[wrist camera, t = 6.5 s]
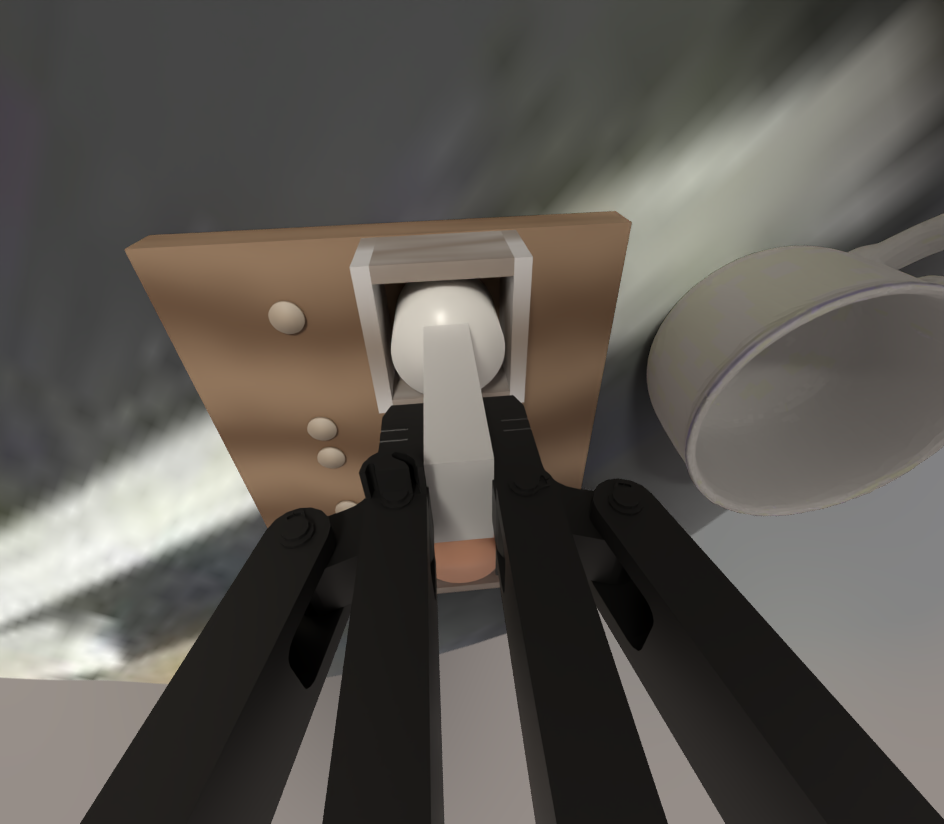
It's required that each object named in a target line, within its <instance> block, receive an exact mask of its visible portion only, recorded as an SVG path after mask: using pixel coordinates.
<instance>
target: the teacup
mask: <svg viewBox="0 0 944 824" xmlns="http://www.w3.org/2000/svg"><path fill="white" fill-rule="evenodd" d="M942 250H944V213H943V214H941V215H938V216H936V217H934V218H931V219H929V220H927V221H924V222H922V223H920V224H917V225H915V226H913V227H911V228H909V229H907V230H905V231H903V232H901V233H899V234H896V235H894V236H892V237H890V238H888V239H886V240H884V241H882V242H880V243H877V244H872V245H867V246H862V247H858V248H856V249H853V250H851V251H849V252H844V251H840V250H836V249H831V248H826V247H817V246H784V247H778V248H772V249H767V250H763V251H760V252H756V253H752V254H750V255H747V256H745V257H742V258H739V259H737V260H735V261H733V262H731V263H729V264H727V265H725V266H723V267H722V268H720V269H718V270H716V271H714V272H713V273H711V274H710V275H708V276H707V277H706V278H704V279H703V280H702V281H700V282H699V283H698V284H696V285H695V286H694V287H693V288H691V289H690V290H689V291H688V292H687V293H686V294H685V295H684V296H683V297H682V298H681V299H680V300H679V301H678V302H677V303H676V305H675V306H674V307H673V309H672V310H671V311H670V312H669V314H668V315H667V316H666V318H665V320H664V321H663V323H662V324H661V326H660V328H659V330H658V332H657V334H656V336H655V338H654V340H653V343H652V346H651V349H650V353H649V357H648V364H647V386H648V392H649V396H650V400H651V403H652V405H653V408H654V410H655V413H656V415H657V417H658V419H659V421H660V422H661V424H662V426H663V428H664V430H665V431H666V433H667V435H668V437H669V438H670V440H671V442H672V443H673V445H674V447H675V448H676V450H677V451H678V453H679V455H680V456H681V458H682V459H683V461H684V462H685V464H686V467H687V470H688V473H689V475H690V477H691V479H692V481H693V483H694V485H695V486H696V487H697V488H698V489H699V490H700V491H701V493H702V494H703V495H704V496H705V497H706V498H708V499H709V500H710V501H711V502H712V503H714V504H717V505H719V506H721V507H723V508H726V509H728V510H731V511H734V512H737V513H744V514H750V515H755V516H782V515H792V514H798V513H804V512H808V511H813V510H819V509H824V508H828V507H831V506H834V505H837V504H841V503H844V502H846V501H848V500H850V499H854V498H857V497H860V496H862V495H865V494H867V493H870V492H872V491H873V490H875V489H877V488H880V487H882V486H884V485H886V484H888V483H890V482H891V481H893V480H895V479H897V478H898V477H900V476H902V475H904V474H905V473H907V472H909V471H910V470H912V469H913V468H915V467H916V466H917V465H918V464H920V463H921V462H923V461H925V460H926V459H928V458H929V457H930V456H932V455H933V454H934V453H936V452H937V451H938V450H940V449H941V448H942V447H943V446H944V276H935V275H929V276H923V277H919V278H916V277H914V276H911V275H909V274H906V273H904V272H901V271H899V269H901V268H903V267H905V266H907V265H909V264H911V263H913V262H916V261H918V260H920V259H922V258H924V257H927V256H929V255H932V254H934V253H937V252H940V251H942Z"/></svg>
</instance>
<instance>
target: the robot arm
mask: <svg viewBox="0 0 944 824" xmlns="http://www.w3.org/2000/svg"><path fill="white" fill-rule="evenodd" d="M423 371H424V403H417V404H404V405H391V406H390V408H389V409H388V410H387V412H386V413H385V414H384V416H383V417H382V424H381V433H380V443H379V449H378V453H376V454H374V455H372V456H370V457H369V458H368V459H367V460H366V461H365V462H364V463H363V464H362V466H361V468H360V471H359V476H360V480H361V483H362V487H363V491H364V495H365V498H364V499H363V500H362V501H361V502H360V503H358V504H357V505H355V506H353V507H351V508H349V509H346V510H344V511H341V512H338V513H335V514H332V515H330V516H327V515H326V514H325V513H324V512H323V511H322V510H319V509H315V508H312V507H309V508H298V509H295V510H292V511H289V512H286V513H285V514H283V515H282V516H280V517H279V518H277V519H276V520H275V521H274V522H273V523H272V524H271V525H270V526H269V527H268V529H267V530H266V531H265V533H264V535H263V536H262V538H261V539H260V541H259V542H258V544H257V546H256V547H255V549H254V550H253V552H252V553H251V555H250V557H249V558H248V560H247V561H246V563H245V564H244V566H243V568H242V569H241V571H240V572H239V574H238V576H237V577H236V579H235V580H234V582H233V583H232V585H231V587H230V588H229V590H228V591H227V593H226V594H225V596H224V598H223V599H222V601H221V602H220V604H219V605H218V607H217V609H216V610H215V612H214V613H213V615H212V616H211V618H210V620H209V621H208V623H207V624H206V626H205V627H204V629H203V631H202V632H201V634H200V635H199V637H198V639H197V640H196V642H195V643H194V645H193V646H192V648H191V650H190V651H189V653H188V654H187V656H186V657H185V659H184V661H183V662H182V664H181V665H180V667H179V668H178V670H177V672H176V673H175V675H174V676H173V678H172V679H171V681H170V683H169V684H168V686H167V687H166V689H165V691H164V692H163V694H162V695H161V697H160V698H159V700H158V702H157V703H156V705H155V706H154V708H153V709H152V711H151V713H150V714H149V716H148V717H147V719H146V720H145V722H144V724H143V725H142V727H141V728H140V730H139V731H138V733H137V735H136V736H135V738H134V739H133V741H132V743H131V744H130V746H129V747H128V749H127V750H126V752H125V754H124V755H123V757H122V758H121V760H120V761H119V763H118V765H117V766H116V768H115V769H114V771H113V772H112V774H111V776H110V777H109V779H108V780H107V782H106V784H105V785H104V787H103V788H102V790H101V792H100V793H99V794H98V796H97V798H96V799H95V801H94V803H93V804H92V806H91V807H90V809H89V810H88V812H87V813H86V815H85V817H84V818H83V820H82V821H81V823H80V824H271V821H272V819H273V816H274V814H275V811H276V809H277V806H278V803H279V801H280V798H281V795H282V793H283V790H284V787H285V785H286V782H287V779H288V777H289V774H290V772H291V769H292V766H293V763H294V761H295V758H296V756H297V753H298V750H299V747H300V745H301V742H302V740H303V737H304V734H305V732H306V729H307V727H308V724H309V721H310V719H311V716H312V713H313V710H314V708H315V705H316V702H317V700H318V697H319V695H320V692H321V689H322V687H323V684H324V682H325V679H326V676H327V674H328V671H329V668H330V666H331V663H332V660H333V658H334V655H335V652H336V650H337V647H338V644H339V642H340V639H341V637H342V634H343V631H344V629H345V626H346V623H347V621H348V618H349V615H350V621H349V629H348V636H347V644H346V651H345V659H344V666H343V674H342V681H341V689H340V696H339V703H338V711H337V719H336V726H335V733H334V741H333V748H332V756H331V763H330V771H329V778H328V786H327V793H326V801H325V809H324V815H323V823H322V824H444V799H443V771H442V770H443V767H442V735H441V705H440V704H441V703H440V675H439V674H440V671H439V638H438V606H437V574H436V559H435V551H434V543H440V542H451V541H462V540H472V539H483V538H494V536H495V543H496V568H495V575H498V577H499V583H500V590H501V597H502V603H503V610H504V616H505V623H506V630H507V636H508V642H509V649H510V656H511V663H512V669H513V676H514V683H515V689H516V696H517V702H518V709H519V715H520V722H521V729H522V735H523V742H524V749H525V755H526V761H527V768H528V775H529V782H530V788H531V794H532V801H533V808H534V815H535V821H536V824H668V823H667V819H666V816H665V813H664V810H663V807H662V805H661V801H660V798H659V795H658V792H657V789H656V786H655V783H654V781H653V777H652V774H651V771H650V768H649V765H648V762H647V759H646V756H645V753H644V750H643V747H642V744H641V741H640V738H639V735H638V732H637V729H636V726H635V723H634V719H633V716H632V713H631V710H630V707H629V704H628V702H627V698H626V695H625V692H624V690H623V686H622V684H621V680H620V677H619V674H618V671H617V668H616V665H615V662H614V659H613V656H612V653H611V650H610V647H609V644H608V641H607V638H606V635H605V632H604V629H603V626H602V623H601V619H600V617H599V614H598V610H599V611H600V613H601V615H602V617H603V618H604V620H605V622H606V623H607V625H608V627H609V628H610V630H611V632H612V633H613V635H614V637H615V639H616V640H617V642H618V644H619V645H620V647H621V648H622V650H623V652H624V654H625V655H626V657H627V659H628V660H629V662H630V664H631V665H632V667H633V669H634V670H635V672H636V674H637V675H638V677H639V679H640V681H641V682H642V684H643V686H644V687H645V689H646V691H647V692H648V694H649V696H650V697H651V699H652V701H653V702H654V704H655V706H656V708H657V709H658V711H659V713H660V714H661V716H662V718H663V719H664V721H665V722H666V724H667V726H668V728H669V729H670V731H671V733H672V734H673V736H674V738H675V739H676V741H677V743H678V745H679V746H680V748H681V749H682V751H683V753H684V755H685V756H686V758H687V760H688V761H689V763H690V765H691V766H692V768H693V770H694V771H695V773H696V775H697V776H698V778H699V780H700V781H701V783H702V785H703V787H704V788H705V790H706V792H707V793H708V795H709V797H710V798H711V800H712V802H713V803H714V805H715V807H716V808H717V810H718V812H719V814H720V815H721V817H722V819H723V820H724V822H725V824H944V819H943V818H942V817H941V816H940V815H939V813H938V812H937V811H936V810H935V809H934V808H933V807H932V806H931V805H930V803H929V802H928V801H927V800H926V799H925V798H924V797H923V796H922V794H921V793H920V792H919V791H918V790H917V789H916V788H915V787H914V786H913V784H912V783H911V782H910V781H909V780H908V779H907V778H906V777H905V776H904V774H903V773H902V772H901V771H900V770H899V769H898V768H897V767H896V766H895V764H894V763H893V762H892V761H891V760H890V759H889V758H888V757H887V755H886V754H885V753H884V752H883V751H882V750H881V749H880V748H879V747H878V745H877V744H876V743H875V742H874V741H873V740H872V739H871V738H870V736H869V735H868V734H867V733H866V732H865V731H864V730H863V729H862V728H861V726H859V724H858V723H857V722H856V721H855V720H854V719H853V718H852V716H850V714H849V713H848V712H847V711H846V710H845V709H844V708H843V706H842V705H841V704H840V703H839V702H838V701H837V700H836V699H835V698H834V696H832V694H831V693H830V692H829V691H828V690H827V689H826V688H825V686H824V685H823V684H822V683H821V682H820V681H819V680H818V679H817V677H816V676H815V675H814V674H813V673H812V672H811V671H810V670H809V669H808V667H807V666H806V665H805V664H804V663H803V662H802V661H801V660H800V658H799V657H798V656H797V655H796V654H795V653H794V652H793V651H792V650H791V649H790V647H789V646H788V645H787V644H786V643H785V642H784V641H783V639H782V638H781V637H780V636H779V635H778V634H777V633H776V632H775V631H774V630H773V628H772V627H771V626H770V625H769V624H768V623H767V622H766V621H765V620H764V618H763V617H762V616H761V615H760V614H759V613H758V612H757V611H756V609H755V608H754V607H753V606H752V605H751V604H750V603H749V602H748V601H747V599H746V598H745V597H744V596H743V595H742V594H741V593H740V592H739V591H738V589H737V588H736V587H735V586H734V585H733V584H732V583H731V582H730V581H729V579H728V578H727V577H726V576H725V575H724V574H723V573H722V571H721V570H720V569H719V568H718V567H717V566H716V565H715V564H714V563H713V562H712V560H710V558H709V557H708V556H707V555H706V554H705V553H704V551H703V550H702V549H701V548H700V547H699V546H698V545H697V544H696V542H695V541H694V540H693V539H692V538H691V537H690V536H689V535H688V534H687V532H686V531H685V530H684V529H683V528H682V527H681V526H680V525H679V524H678V522H677V521H676V520H675V519H674V518H673V517H672V516H671V515H670V514H669V512H668V511H667V510H666V509H665V508H664V507H663V506H662V505H661V503H660V502H659V501H658V500H657V499H656V498H655V497H654V496H653V495H652V493H650V492H649V491H648V490H647V489H646V488H644V487H643V486H642V485H639V484H637V483H635V482H633V481H630V480H624V479H611V480H606V481H604V482H602V483H600V484H599V485H598V486H597V487H596V489H595V490H594V491H589V490H583V489H577V488H572V487H568V486H565V485H563V484H561V483H559V482H557V481H555V480H554V479H553V478H552V476H551V475H550V474H549V473H548V472H546V471H545V469H544V467H543V465H542V462H541V458H540V455H539V452H538V449H537V446H536V443H535V439H534V436H533V433H532V430H531V427H530V424H529V420H528V418H527V414H526V411H525V408H524V405H523V404H522V403H521V402H520V401H519V400H518V399H517V398H516V397H515V396H514V395H507V396H494V397H482V393H481V388H480V383H479V377H478V372H477V367H476V362H475V356H474V351H473V346H472V341H471V335H470V330H469V325H468V323H466V324H451V325H435V326H423ZM597 608H598V610H597ZM350 613H351V614H350Z"/></svg>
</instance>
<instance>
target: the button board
mask: <svg viewBox="0 0 944 824" xmlns="http://www.w3.org/2000/svg"><path fill="white" fill-rule="evenodd" d="M631 224H632V222H631V221H629V220H628V219H626V218H625V217H623V216H622V215H620V214H619V213H617V212H616V211H609V212H590V213H571V214H551V215H532V216H513V217H493V218H474V219H454V220H435V221H416V222H396V223H377V224H358V225H338V226H319V227H300V228H280V229H261V230H242V231H222V232H203V233H184V234H164V235H149V236H147V237H145V238H143V239H142V240H140V241H138V242H136V243H135V244H133V245H131V246H129V247H127V248H126V249H124V250H125V252H126V254H127V256H128V258H129V260H130V261H131V263H132V265H133V267H134V269H135V271H136V273H137V275H138V277H139V279H140V281H141V283H142V285H143V287H144V289H145V291H146V293H147V294H148V296H149V298H150V300H151V302H152V304H153V306H154V308H155V310H156V312H157V314H158V316H159V318H160V320H161V322H162V324H163V326H164V327H165V329H166V331H167V333H168V335H169V337H170V339H171V341H172V343H173V345H174V347H175V349H176V351H177V353H178V355H179V357H180V359H181V360H182V362H183V364H184V366H185V368H186V370H187V372H188V374H189V376H190V378H191V380H192V382H193V384H194V386H195V388H196V390H197V392H198V394H199V395H200V397H201V399H202V401H203V403H204V405H205V407H206V409H207V411H208V413H209V415H210V417H211V419H212V421H213V423H214V425H215V427H216V428H217V430H218V432H219V434H220V436H221V438H222V440H223V442H224V444H225V446H226V448H227V450H228V452H229V454H230V456H231V458H232V460H233V461H234V463H235V465H236V467H237V469H238V471H239V473H240V475H241V477H242V479H243V481H244V483H245V485H246V487H247V489H248V491H249V493H250V494H251V496H252V498H253V500H254V502H255V504H256V506H257V508H258V510H259V512H260V514H261V516H262V518H263V520H264V522H265V524H266V526H267V528H268V527H269V526H270V525H271V524H272V523H273V522H274V521H275V520H276V519H277V518H279V517H280V516H282V515H283V514H285V513H286V512H289V511H292V510H295V509H298V508H309V507H312V508H315V509H319V510H322V511H323V512H324V513H325V514H326V515H327V516H330V515H332V514H335V513H338V512H341V511H344V510H346V509H349V508H351V507H353V506H355V505H357V504H358V503H360V502H361V501H362V500H363V499H364V498H365V495H364V491H363V487H362V483H361V480H360V476H359V471H360V468H361V466H362V464H363V463H364V462H365V461H366V460H367V459H368V458H369V457H370V456H372V455H374V454H376V453H378V449H379V443H380V433H381V424H382V417H383V416H384V414H385V413H386V412H387V410H388V409H389V408H390V406H391V405H404V404H417V403H424V394H423V393H420V392H418V391H417V390H415V389H413V388H412V387H410V386H409V385H408V384H407V383H406V382H405V381H404V380H403V379H402V378H401V377H400V375H399V374H398V372H397V370H396V369H395V366H394V364H393V360H392V356H391V342H392V334H393V326H394V318H395V309H396V303H397V299H398V297H399V294H400V292H401V291H402V289H403V287H404V286H405V285H406V283H407V282H422V281H439V280H456V279H473V278H478V279H479V280H480V281H481V282H482V283H483V284H484V285H485V287H486V288H487V289H488V291H489V293H490V295H491V298H492V301H493V304H494V307H495V310H496V313H497V317H498V320H499V323H500V326H501V329H502V333H503V336H504V341H505V354H504V359H503V362H502V365H501V367H500V369H499V371H498V373H497V374H496V375H495V377H494V378H493V379H492V380H491V381H490V382H489V383H488V384H487V385H485V386H484V387H483V388H481V393H482V397H494V396H507V395H514V396H515V397H516V398H517V399H518V400H519V401H520V402H521V403H522V404H523V405H524V408H525V411H526V414H527V418H528V420H529V424H530V427H531V430H532V433H533V436H534V439H535V443H536V446H537V449H538V452H539V455H540V458H541V462H542V465H543V467H544V469H545V471H546V472H548V473H549V474H550V475H551V476H552V478H553V479H554V480H555V481H557V482H559V483H561V484H563V485H565V486H568V487H572V488H577V489H581V485H582V480H583V475H584V470H585V464H586V459H587V454H588V449H589V443H590V438H591V433H592V428H593V422H594V417H595V412H596V407H597V402H598V396H599V391H600V386H601V381H602V375H603V370H604V365H605V360H606V355H607V349H608V344H609V339H610V334H611V328H612V323H613V318H614V313H615V308H616V302H617V297H618V292H619V287H620V281H621V276H622V271H623V266H624V260H625V255H626V250H627V245H628V240H629V234H630V229H631ZM499 587H500V583H499V577H498V575H495V569H494V571H492V572H491V573H490V574H489V575H487V576H486V577H484V578H482V579H479V580H476V581H472V582H467V583H450V582H445V581H442V580H439V579H437V594H439V593H449V592H459V591H469V590H479V589H489V588H499Z"/></svg>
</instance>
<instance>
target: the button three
mask: <svg viewBox="0 0 944 824" xmlns="http://www.w3.org/2000/svg"><path fill="white" fill-rule="evenodd" d="M434 551H435V559H436V574H437V579H439V580H442V581H445V582H450V583H467V582H472V581H476V580H479V579H482V578H484V577H486V576H487V575H489V574H490V573H491V572H492V571H494V569H495V568H496V543H495V536H494V538H483V539H472V540H462V541H451V542H440V543H434Z"/></svg>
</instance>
